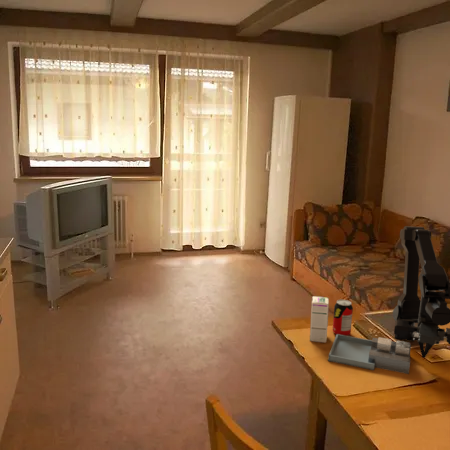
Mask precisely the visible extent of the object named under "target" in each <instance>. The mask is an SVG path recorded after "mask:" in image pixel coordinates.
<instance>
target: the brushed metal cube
mask: <svg viewBox="0 0 450 450" xmlns="http://www.w3.org/2000/svg"><path fill="white" fill-rule="evenodd" d="M377 339H378V343H377V351H378V352H383V353H388V354H390V349H391V341H393V340H392V338H391V339H390V338H386V337H380V336H379V337H378V338H377Z"/></svg>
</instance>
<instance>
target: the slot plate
mask: <svg viewBox="0 0 450 450" xmlns="http://www.w3.org/2000/svg"><path fill="white" fill-rule="evenodd" d="M377 343H378V338H377V337H372V344H371V350H370V352H369V359H368V362H369V363H374V364H375V365H374V366H375V367H374V368H377V369H380V370H381V369H382V370H386V371H391V372H396V373H402V374H405V375H410V374H409V373H410V367H411V352H412V351H411V350H412V349H411V348H412V344H410V349H409V357H404V356H399V355H395V349H396V341H393V340H391V349H390V354H388V353H383V352H378V351H377Z"/></svg>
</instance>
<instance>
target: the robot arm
mask: <svg viewBox="0 0 450 450" xmlns="http://www.w3.org/2000/svg"><path fill="white" fill-rule="evenodd" d="M399 238H400V244H401V246H402V248H403V250H404V252H405V253H404V254H405V255H404V257H405V258H404V274H403V275H404V276H403V291H402V292H403V293H402V294H401V295H400V296H399V297H398V299H397V305H396V306H395V307H394V308H393V310H392V318H393V320H394V330H393V334H394V339H397V340H402V341H404V340H405V341H408V342H415V341H416V342H417V343H418V346H419V351H420V354H421V358H424V359H426V356H427V355H428V354H429V352H430V350H431V349H432V347H433V346H434V345H439V344H440V342H444V340H445V339H446V340H445V341H446V342H447V344H448V345H450V328H449V327H446V328H441V327H440V326H442V327H443V326H447V325H449V324H450V307H449V306H448V302H447V301H446V300H450V279H449V276H448V275H447V273H446V269H445V268H444V267H443V266H442V265H441V264H439V262H438V260H437V256H436V252H435V250H434V246H433V242H432V232H431V230H430V229H425V227H424V226H410V225H409V226H408V225H406V226H404V227H403V228H401V229H400V231H399ZM420 267H421V271H420ZM419 289H420V294H421V295H420V297H419V295H418V294H419V293H418V291H419ZM415 324H417V326H415ZM424 343H425V344H424Z"/></svg>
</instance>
